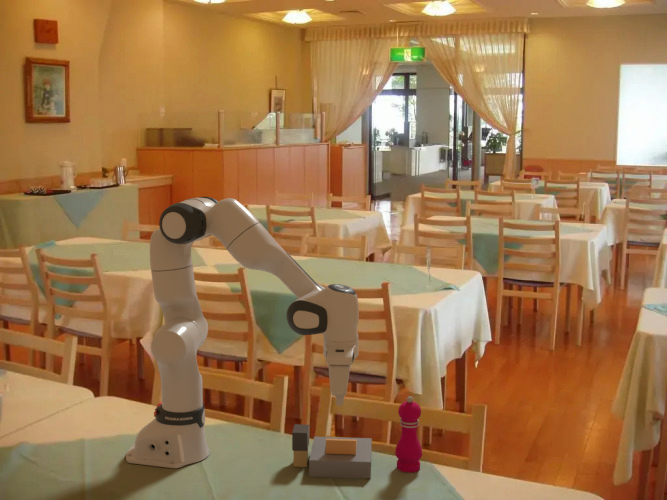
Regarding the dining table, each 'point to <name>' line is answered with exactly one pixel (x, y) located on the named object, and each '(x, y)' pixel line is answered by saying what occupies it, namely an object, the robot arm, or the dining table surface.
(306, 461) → the plug
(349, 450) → the block
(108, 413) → the dining table surface
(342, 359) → the robot arm
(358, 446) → the socket block
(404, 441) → the pepper mill
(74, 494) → the dining table surface
